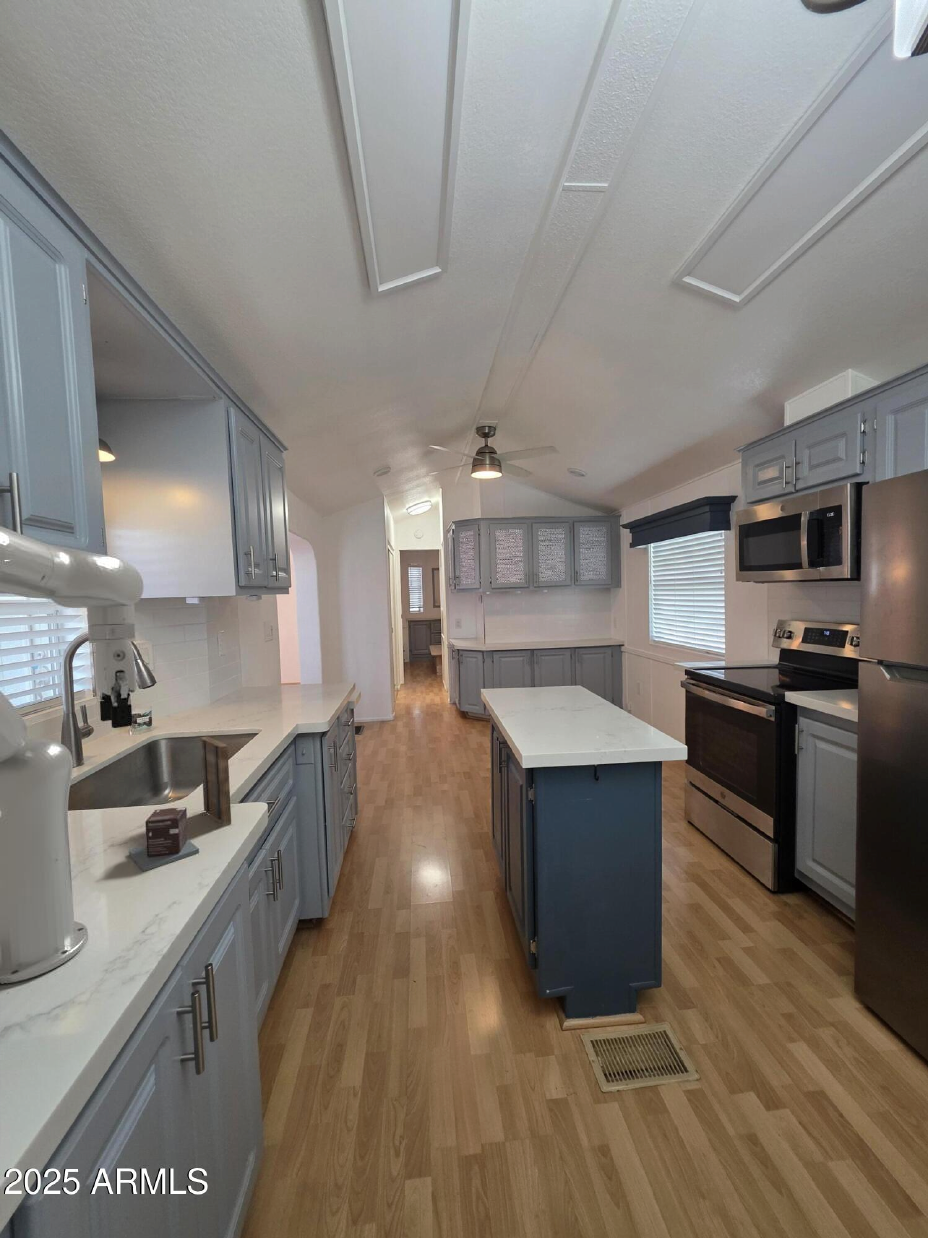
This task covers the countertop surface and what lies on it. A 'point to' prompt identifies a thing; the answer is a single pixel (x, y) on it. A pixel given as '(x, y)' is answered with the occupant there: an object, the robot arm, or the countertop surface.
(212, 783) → the brown upright panel
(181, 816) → the box
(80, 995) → the countertop surface
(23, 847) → the robot arm
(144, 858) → the mat
